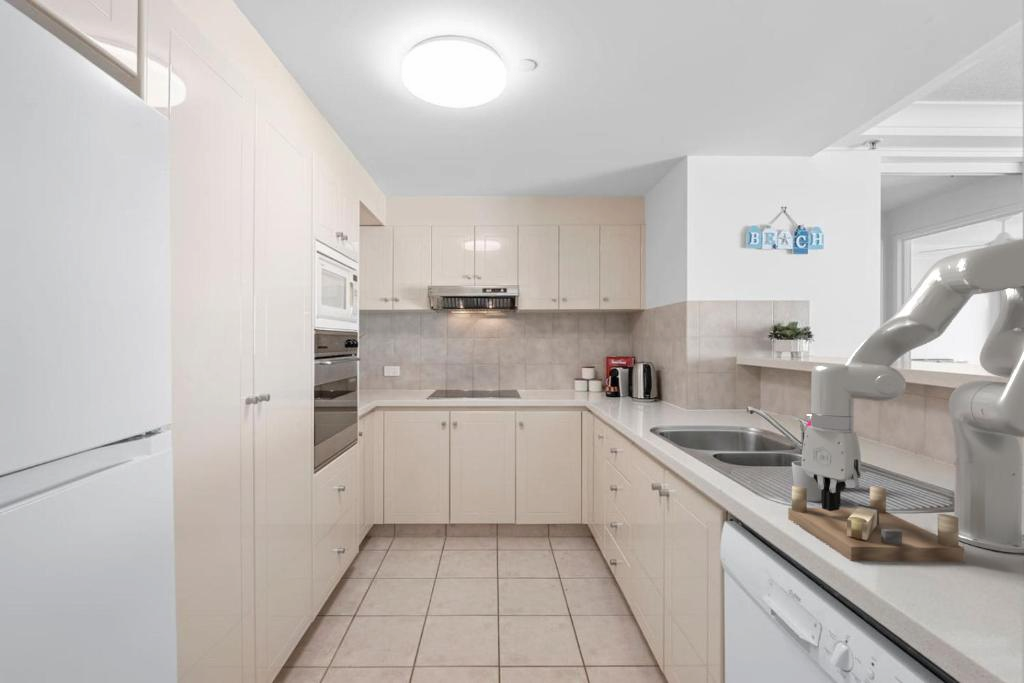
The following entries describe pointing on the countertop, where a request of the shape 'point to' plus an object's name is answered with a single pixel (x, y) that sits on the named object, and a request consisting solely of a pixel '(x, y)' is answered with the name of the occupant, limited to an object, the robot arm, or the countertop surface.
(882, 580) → the countertop surface
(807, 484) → the cup
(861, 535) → the folding leg
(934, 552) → the stool seat
